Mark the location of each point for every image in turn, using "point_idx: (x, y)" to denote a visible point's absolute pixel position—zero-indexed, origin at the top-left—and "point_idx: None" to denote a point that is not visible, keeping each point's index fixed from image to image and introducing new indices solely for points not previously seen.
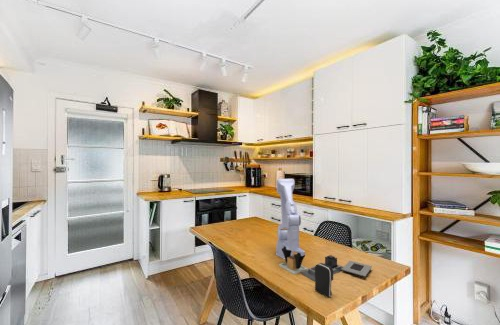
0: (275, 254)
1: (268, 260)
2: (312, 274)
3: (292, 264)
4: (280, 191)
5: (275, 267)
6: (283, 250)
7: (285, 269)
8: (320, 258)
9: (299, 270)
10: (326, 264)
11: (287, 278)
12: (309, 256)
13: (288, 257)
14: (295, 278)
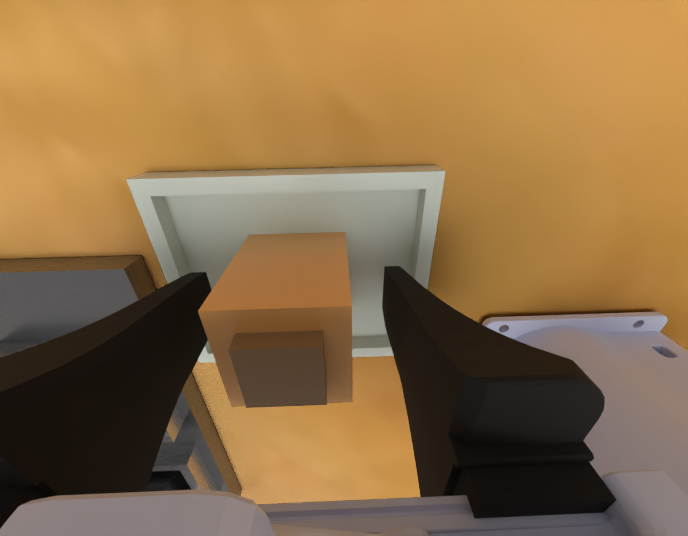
0: (656, 313)
1: (657, 151)
2: (54, 325)
3: (233, 268)
4: None
5: (443, 96)
6: (491, 372)
7: (303, 170)
8: (343, 489)
9: (173, 277)
10: (152, 485)
11: (69, 18)
12: (406, 467)
13: (331, 314)
14: (60, 135)
